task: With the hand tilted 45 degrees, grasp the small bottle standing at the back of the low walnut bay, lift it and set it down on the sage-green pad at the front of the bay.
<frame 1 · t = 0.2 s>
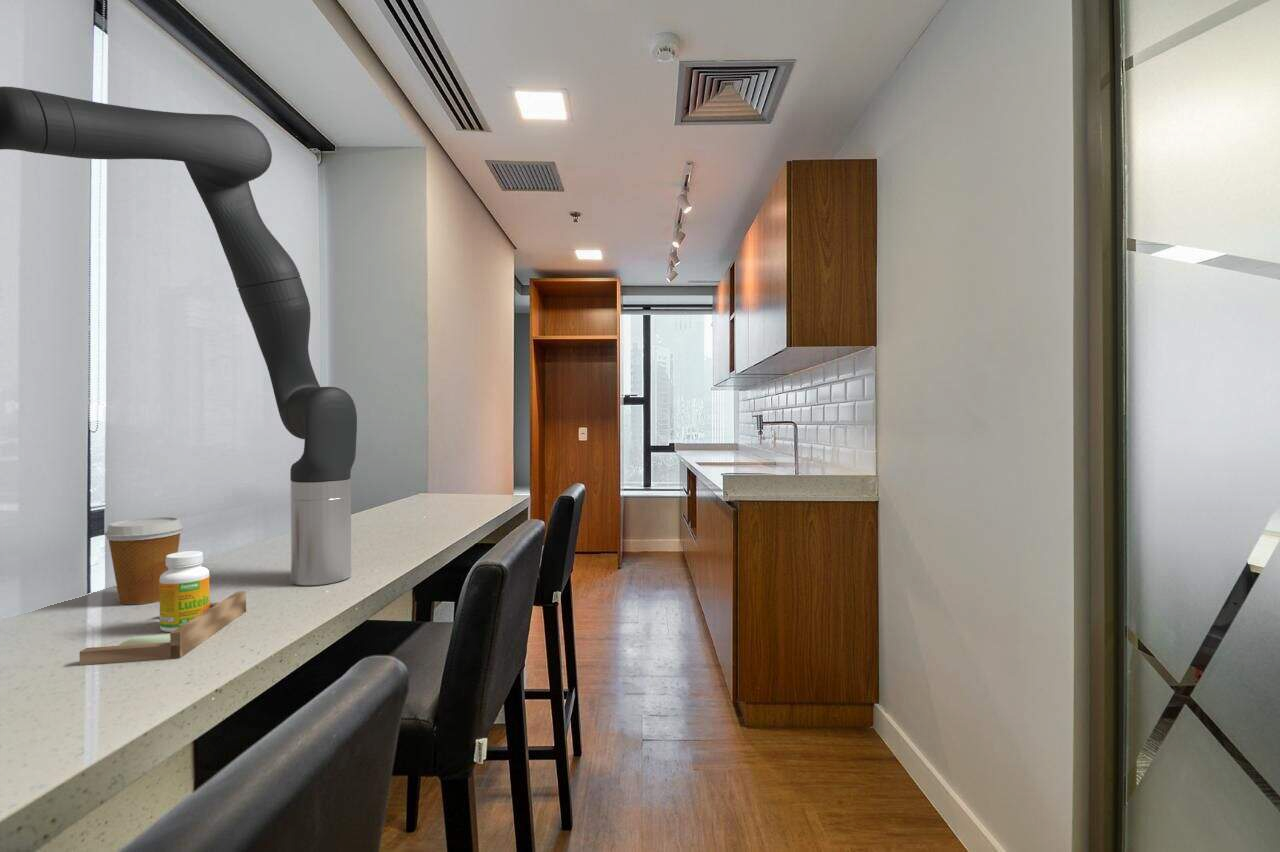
bay: (170, 634, 78), on the bar counter
disposable coffee cup: (146, 600, 94), on the bar counter
supplement bottle: (185, 627, 82), on the bar counter
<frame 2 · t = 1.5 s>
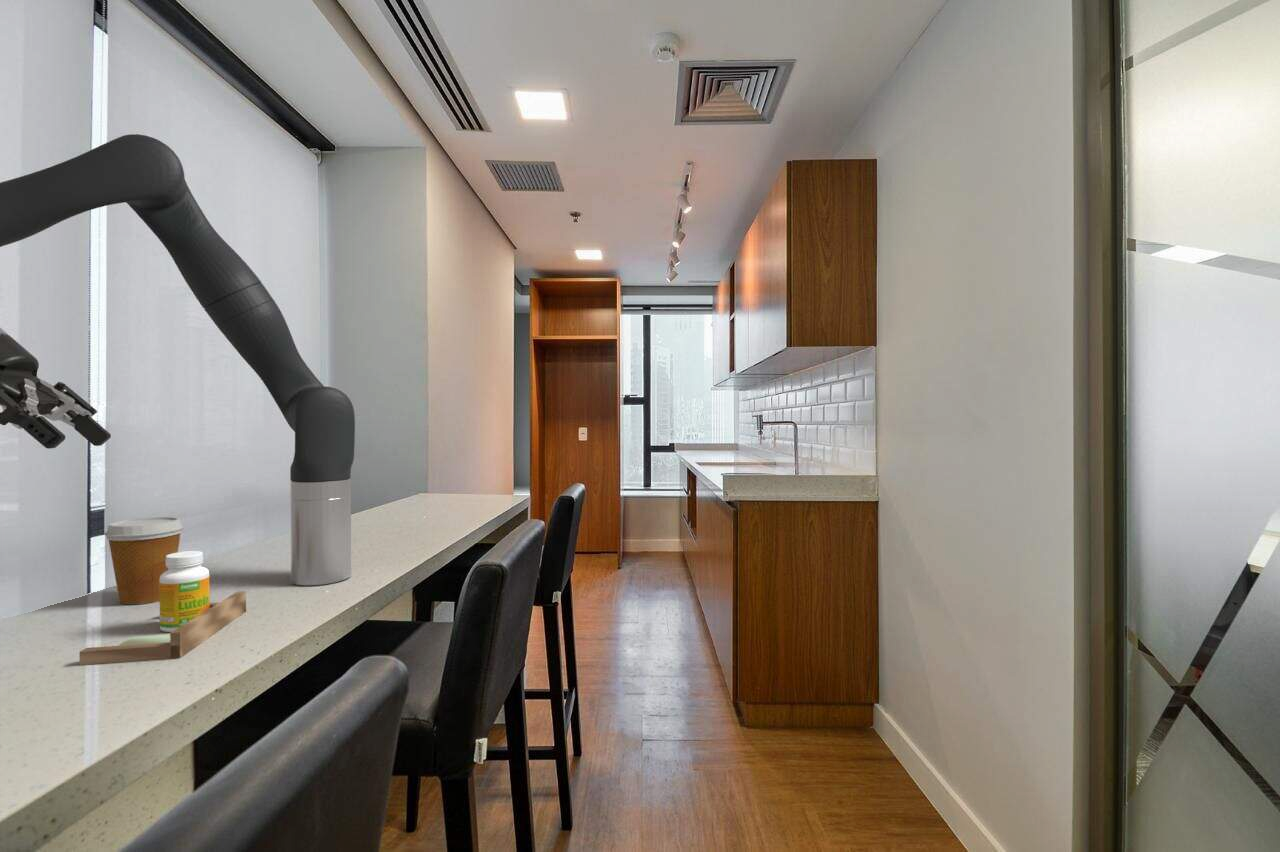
hand: (82, 442, 79), 25 cm above the bar counter, tool tilted 45°, fingers open, 8 cm apart
nothing on the bar counter moved.
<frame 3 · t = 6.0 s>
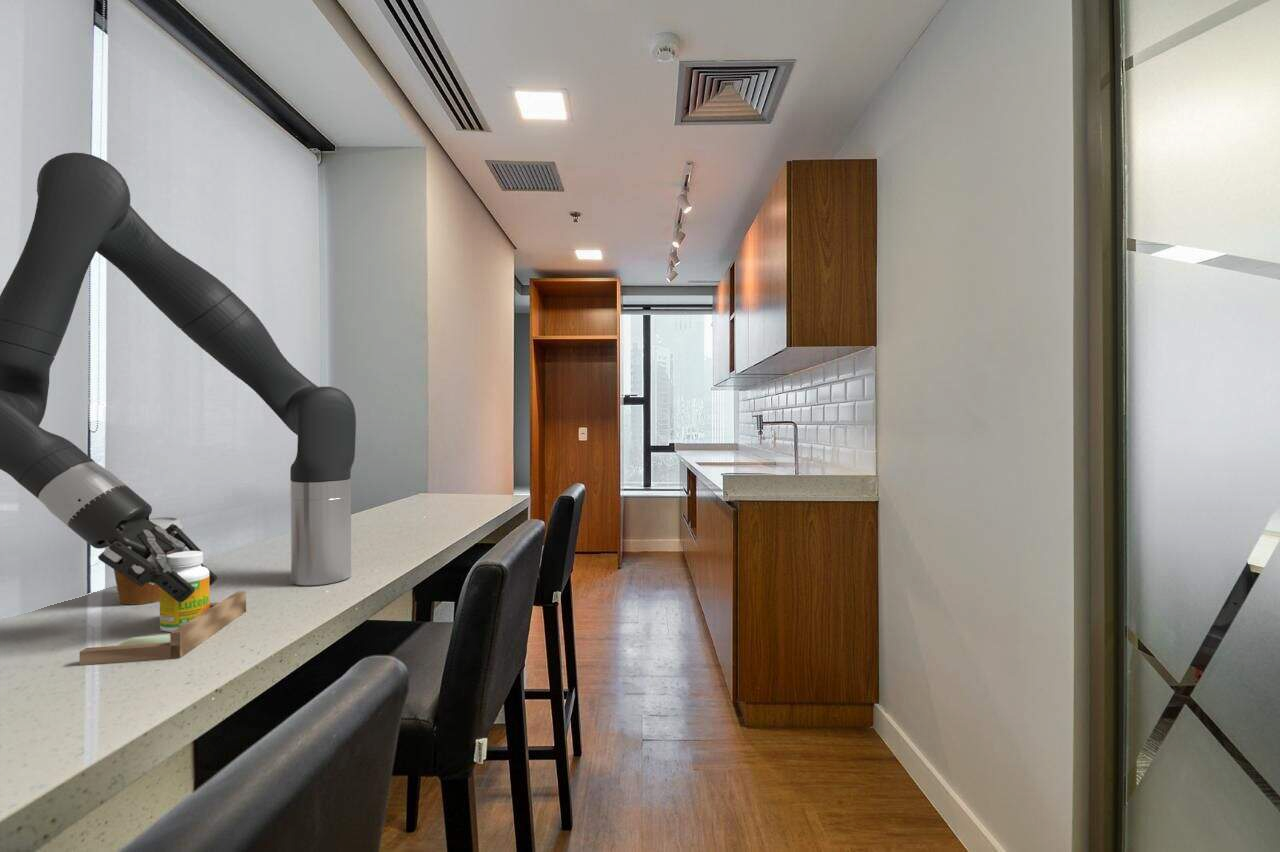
hand: (200, 589, 82), 5 cm above the bar counter, tool tilted 45°, fingers closed on supplement bottle, 5 cm apart
supplement bottle: (185, 627, 82), on the bar counter, touching gripper
everything else where it was.
when the fingers open (6 cm above the bar counter, at t = 11.0 s): supplement bottle drops 1 cm, resting on bay.
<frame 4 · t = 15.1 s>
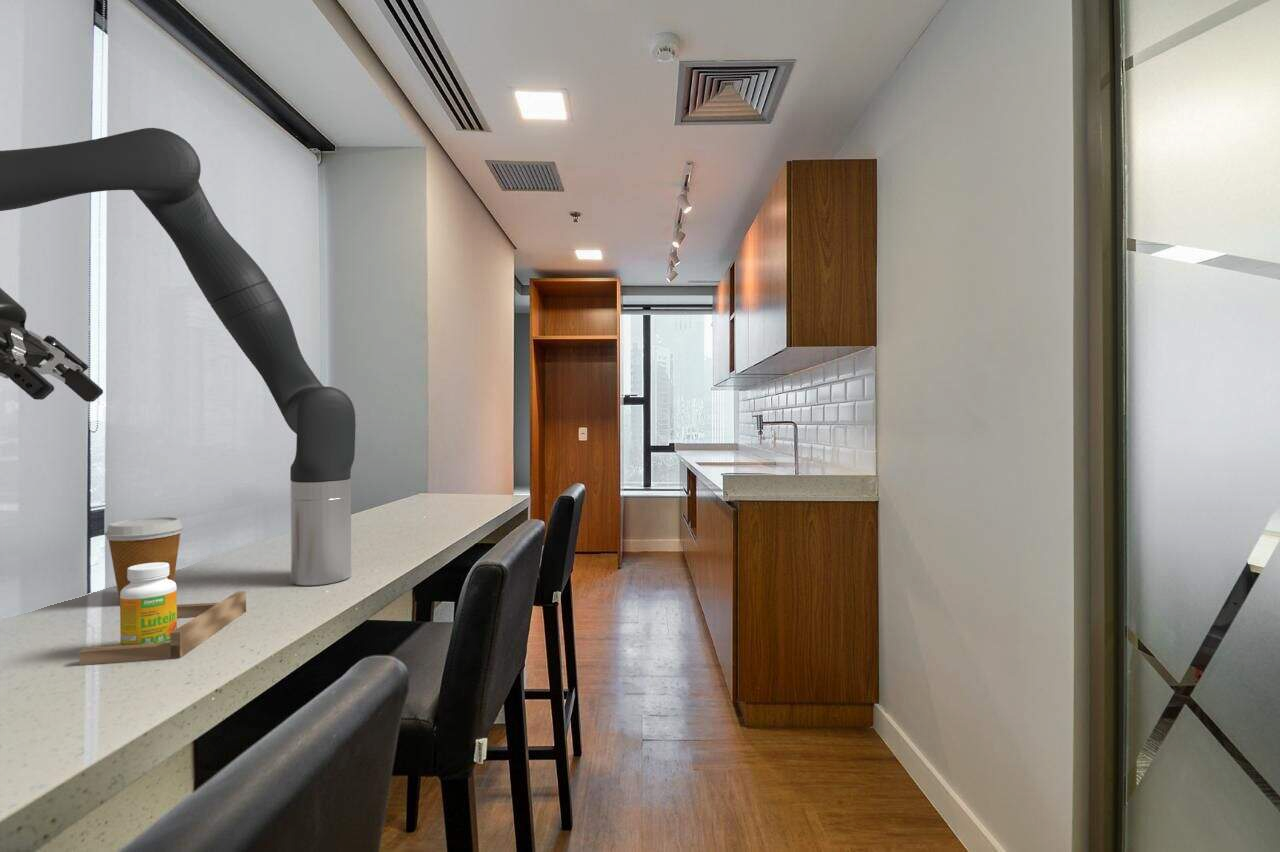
hand: (72, 396, 75), 31 cm above the bar counter, tool tilted 45°, fingers open, 8 cm apart
supplement bottle: (149, 646, 74), resting on bay
everything else where it was.
at the end: supplement bottle inside the target area on the bay (0.3 cm from its centre), point 0.0 cm above the bay's base; supplement bottle tilted 0°; the gripper is holding nothing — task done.
